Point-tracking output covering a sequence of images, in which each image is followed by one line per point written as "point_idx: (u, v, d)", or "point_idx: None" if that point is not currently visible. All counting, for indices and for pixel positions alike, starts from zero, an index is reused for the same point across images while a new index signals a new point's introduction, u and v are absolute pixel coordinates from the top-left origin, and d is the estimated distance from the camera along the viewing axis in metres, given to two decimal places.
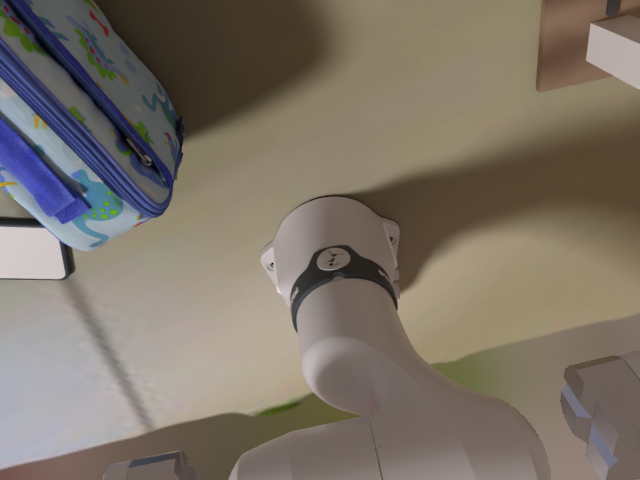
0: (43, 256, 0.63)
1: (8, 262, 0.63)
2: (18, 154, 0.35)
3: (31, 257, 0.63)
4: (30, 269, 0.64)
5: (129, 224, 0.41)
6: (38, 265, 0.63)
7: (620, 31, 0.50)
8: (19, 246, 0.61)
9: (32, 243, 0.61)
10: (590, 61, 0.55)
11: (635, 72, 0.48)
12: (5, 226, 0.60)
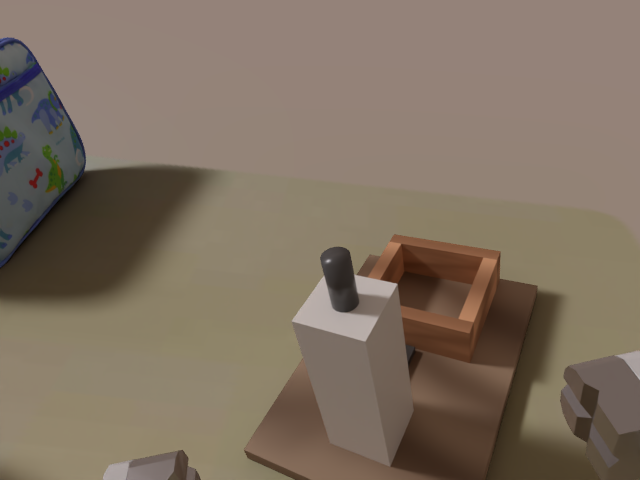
0: None
1: None
2: None
3: None
4: None
5: None
6: None
7: None
8: None
9: None
10: None
11: None
12: None
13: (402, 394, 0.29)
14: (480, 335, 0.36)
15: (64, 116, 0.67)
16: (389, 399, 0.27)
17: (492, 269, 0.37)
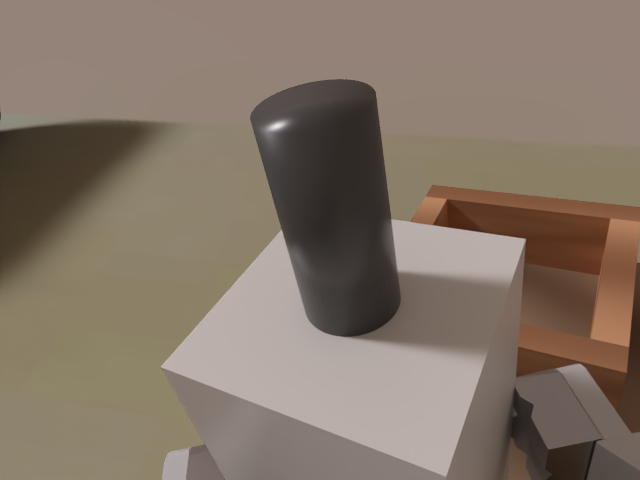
0: None
1: None
2: None
3: None
4: None
5: None
6: None
7: None
8: None
9: None
10: None
11: None
12: None
13: None
14: None
15: None
16: None
17: (636, 239, 0.19)
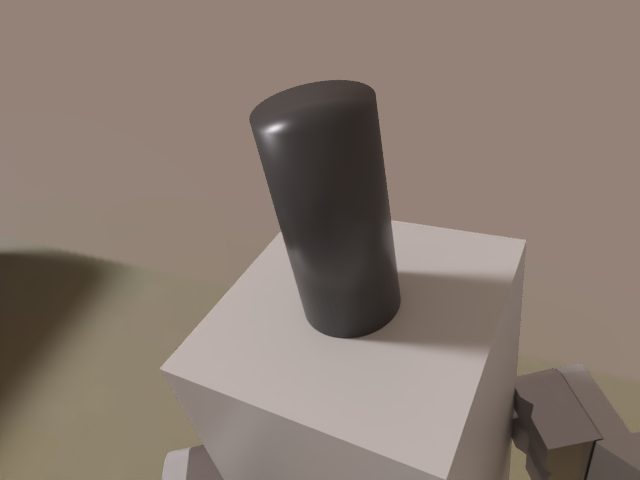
0: None
1: None
2: None
3: None
4: None
5: None
6: None
7: None
8: None
9: None
10: None
11: None
12: None
13: None
14: None
15: None
16: None
17: None
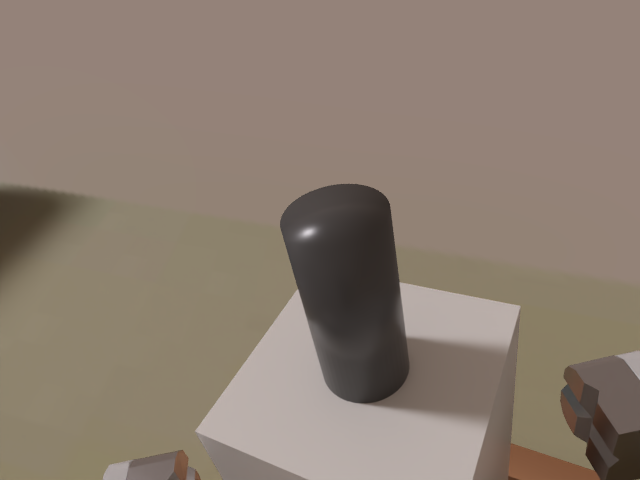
0: None
1: None
2: None
3: None
4: None
5: None
6: None
7: None
8: None
9: None
10: None
11: None
12: None
13: None
14: None
15: None
16: None
17: None
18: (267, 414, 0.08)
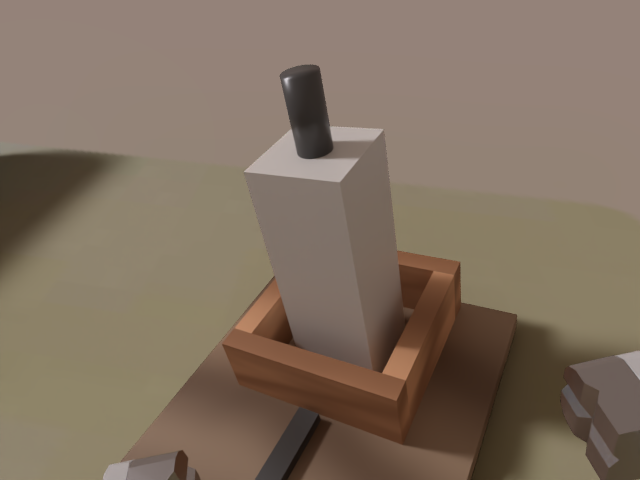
0: None
1: None
2: None
3: None
4: None
5: None
6: None
7: None
8: None
9: None
10: None
11: None
12: None
13: (391, 294, 0.23)
14: (424, 395, 0.23)
15: None
16: (374, 291, 0.21)
17: (445, 290, 0.23)
18: (273, 165, 0.19)
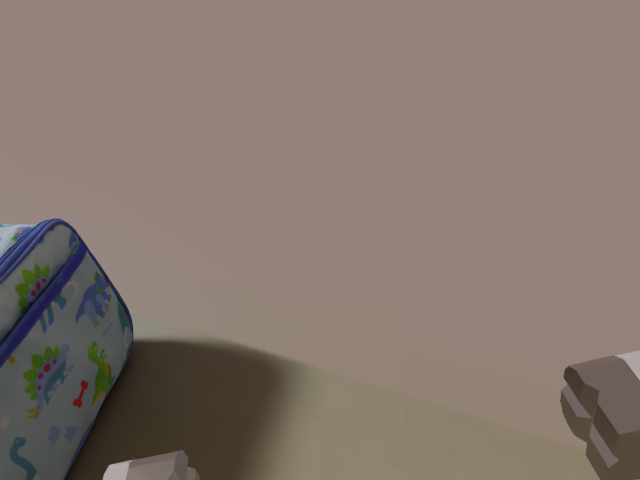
0: None
1: None
2: None
3: None
4: None
5: None
6: None
7: None
8: None
9: None
10: None
11: None
12: None
13: None
14: None
15: (111, 294, 0.54)
16: None
17: None
18: None
